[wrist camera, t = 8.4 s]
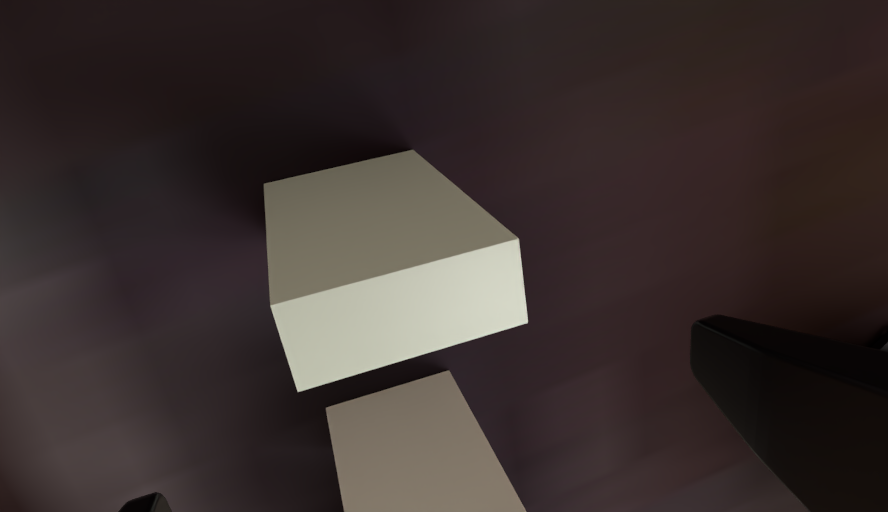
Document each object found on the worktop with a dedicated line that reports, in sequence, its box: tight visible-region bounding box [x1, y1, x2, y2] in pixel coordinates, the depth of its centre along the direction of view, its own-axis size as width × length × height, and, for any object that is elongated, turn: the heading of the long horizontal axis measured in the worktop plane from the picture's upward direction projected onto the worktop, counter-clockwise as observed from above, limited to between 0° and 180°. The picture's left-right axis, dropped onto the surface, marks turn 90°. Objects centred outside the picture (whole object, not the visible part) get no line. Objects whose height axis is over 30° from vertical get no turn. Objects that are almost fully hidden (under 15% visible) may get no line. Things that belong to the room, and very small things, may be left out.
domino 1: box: [264, 150, 528, 392], centre depth 16 cm, size 2×5×9 cm, turn 99°
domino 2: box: [326, 370, 526, 512], centre depth 20 cm, size 2×5×9 cm, turn 99°
